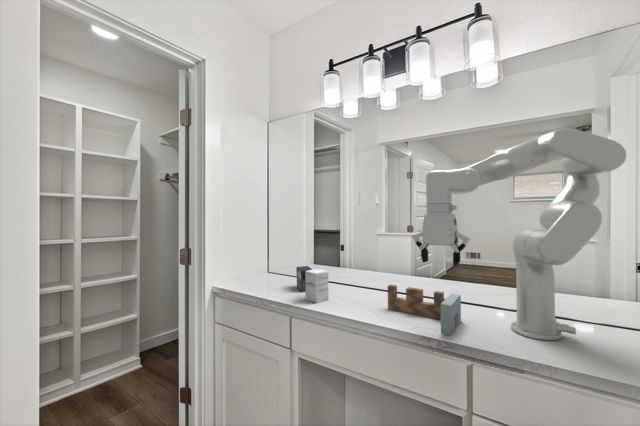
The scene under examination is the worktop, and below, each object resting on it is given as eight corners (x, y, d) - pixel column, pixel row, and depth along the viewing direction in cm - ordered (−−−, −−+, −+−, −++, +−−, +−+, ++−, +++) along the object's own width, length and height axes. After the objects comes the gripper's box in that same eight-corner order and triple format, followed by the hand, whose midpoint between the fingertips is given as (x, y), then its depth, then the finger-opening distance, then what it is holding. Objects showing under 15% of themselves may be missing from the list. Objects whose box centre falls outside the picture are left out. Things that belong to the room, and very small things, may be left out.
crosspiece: (460, 321, 100) (460, 294, 100) (451, 335, 89) (450, 305, 89) (451, 319, 102) (451, 293, 102) (440, 333, 91) (440, 303, 91)
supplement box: (305, 299, 127) (304, 270, 127) (317, 296, 132) (317, 268, 132) (316, 303, 121) (315, 273, 121) (329, 300, 126) (328, 270, 126)
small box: (295, 287, 149) (295, 266, 149) (308, 286, 151) (308, 265, 151) (300, 292, 139) (300, 270, 139) (314, 291, 141) (313, 269, 141)
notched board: (444, 317, 104) (443, 292, 104) (442, 319, 102) (441, 293, 102) (390, 307, 116) (390, 284, 115) (387, 309, 113) (387, 285, 113)
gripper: (471, 208, 90) (473, 264, 90) (417, 210, 102) (418, 259, 102) (464, 209, 85) (465, 268, 85) (408, 210, 97) (409, 262, 97)
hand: (440, 263), depth 94 cm, fingers open, 9 cm apart
